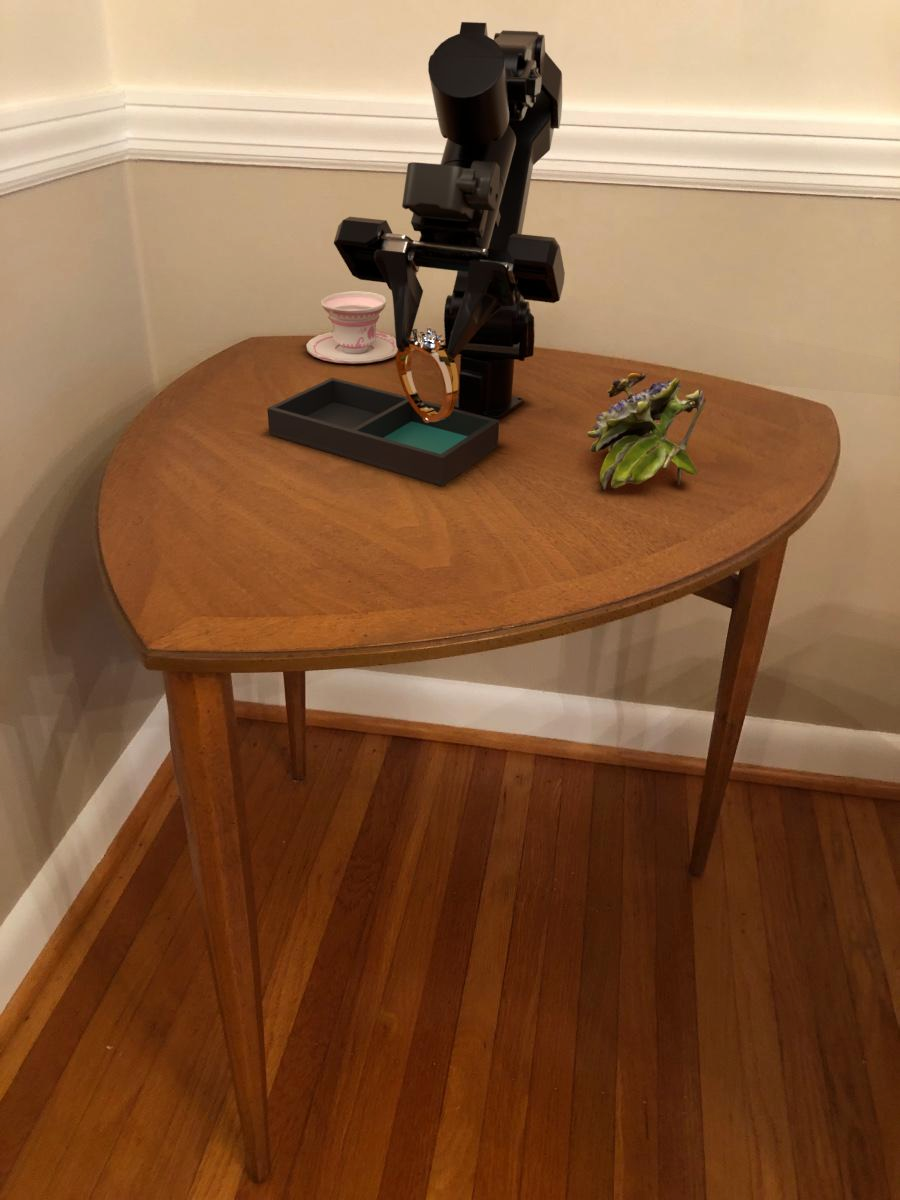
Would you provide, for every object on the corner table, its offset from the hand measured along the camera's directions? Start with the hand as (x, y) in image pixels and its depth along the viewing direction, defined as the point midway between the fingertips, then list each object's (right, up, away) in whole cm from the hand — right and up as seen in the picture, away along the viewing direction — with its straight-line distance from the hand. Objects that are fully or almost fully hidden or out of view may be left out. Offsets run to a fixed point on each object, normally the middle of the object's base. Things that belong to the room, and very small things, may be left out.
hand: (424, 353), depth 77 cm
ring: (0, -5, +5) cm, 7 cm away
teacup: (-10, +11, +42) cm, 44 cm away
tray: (-5, -4, +19) cm, 20 cm away
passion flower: (+21, -8, +14) cm, 26 cm away
